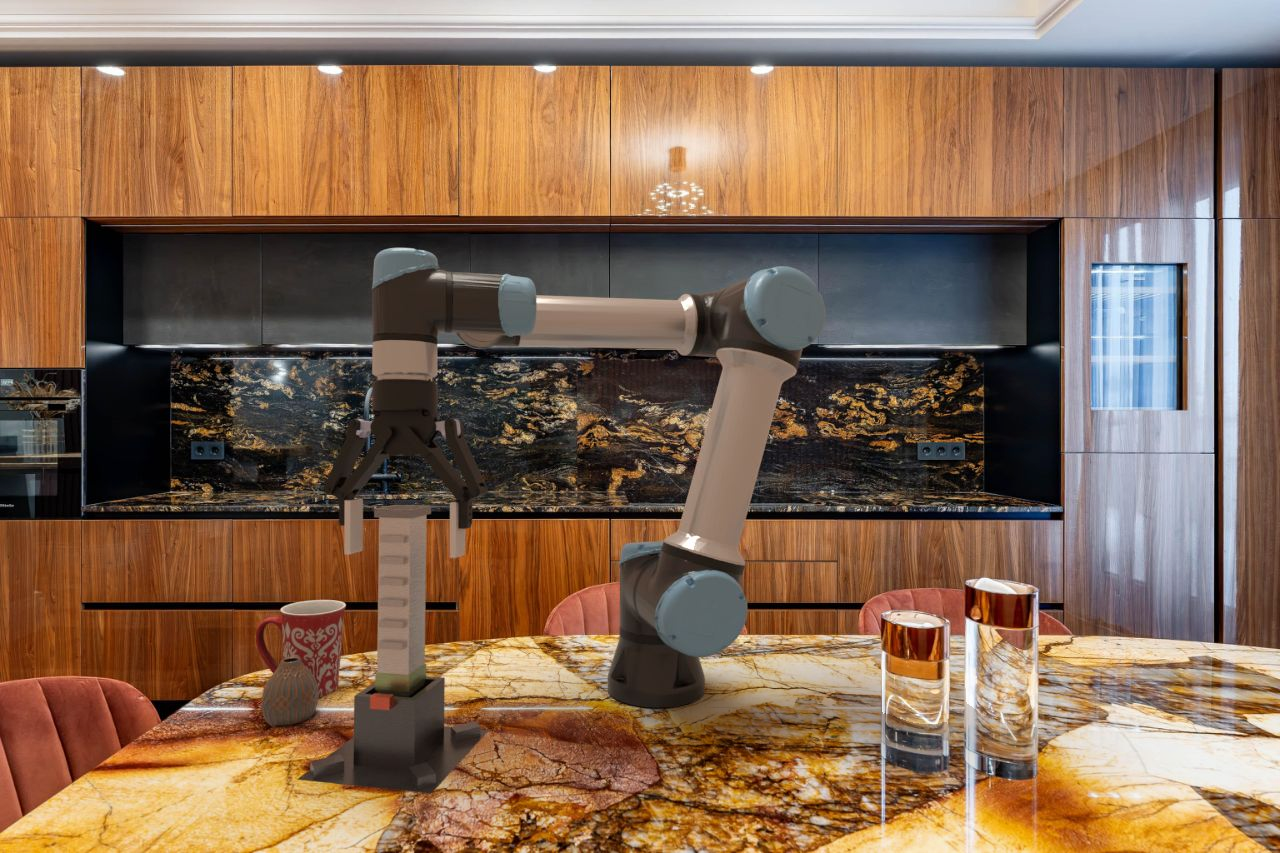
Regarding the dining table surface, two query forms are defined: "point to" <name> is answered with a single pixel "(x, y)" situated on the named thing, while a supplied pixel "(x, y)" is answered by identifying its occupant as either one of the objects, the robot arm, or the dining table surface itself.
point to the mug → (309, 639)
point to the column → (401, 599)
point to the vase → (289, 694)
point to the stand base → (398, 742)
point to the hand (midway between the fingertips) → (405, 554)
